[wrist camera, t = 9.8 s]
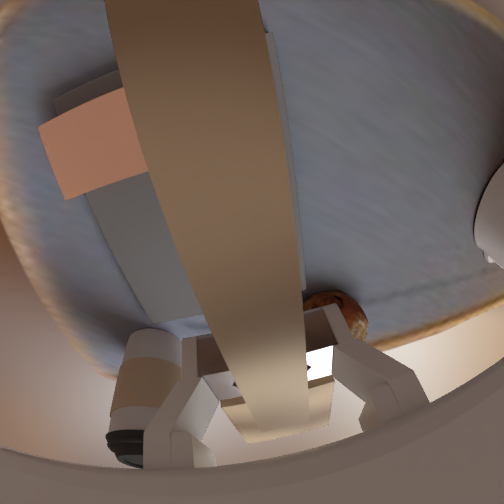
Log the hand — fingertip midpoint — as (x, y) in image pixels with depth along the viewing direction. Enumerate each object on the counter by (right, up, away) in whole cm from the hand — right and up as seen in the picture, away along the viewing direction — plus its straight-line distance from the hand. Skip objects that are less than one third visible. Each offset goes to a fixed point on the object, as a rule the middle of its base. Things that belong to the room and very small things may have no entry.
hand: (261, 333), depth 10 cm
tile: (-7, +11, +7) cm, 15 cm away
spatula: (0, 0, +1) cm, 1 cm away
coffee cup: (-12, -8, +22) cm, 27 cm away
